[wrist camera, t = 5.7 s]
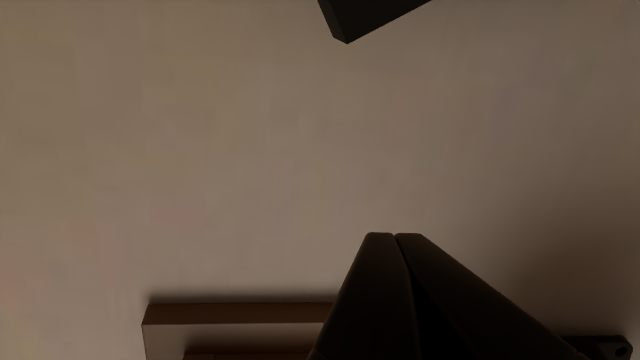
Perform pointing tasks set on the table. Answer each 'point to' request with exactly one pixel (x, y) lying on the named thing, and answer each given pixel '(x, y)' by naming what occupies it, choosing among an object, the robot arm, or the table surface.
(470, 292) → the robot arm
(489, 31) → the table surface
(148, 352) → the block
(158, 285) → the table surface
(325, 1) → the toy
